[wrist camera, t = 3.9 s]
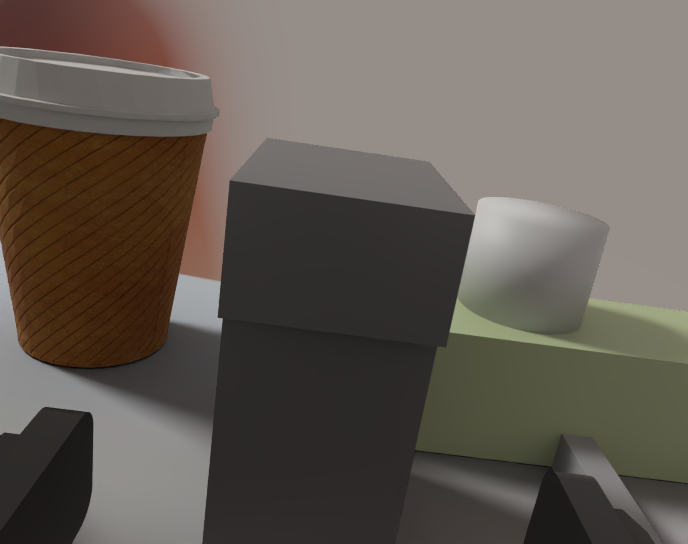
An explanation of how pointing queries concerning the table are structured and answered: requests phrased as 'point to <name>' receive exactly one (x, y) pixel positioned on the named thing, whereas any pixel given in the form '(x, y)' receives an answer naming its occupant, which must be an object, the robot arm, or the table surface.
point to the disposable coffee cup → (96, 199)
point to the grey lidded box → (327, 341)
